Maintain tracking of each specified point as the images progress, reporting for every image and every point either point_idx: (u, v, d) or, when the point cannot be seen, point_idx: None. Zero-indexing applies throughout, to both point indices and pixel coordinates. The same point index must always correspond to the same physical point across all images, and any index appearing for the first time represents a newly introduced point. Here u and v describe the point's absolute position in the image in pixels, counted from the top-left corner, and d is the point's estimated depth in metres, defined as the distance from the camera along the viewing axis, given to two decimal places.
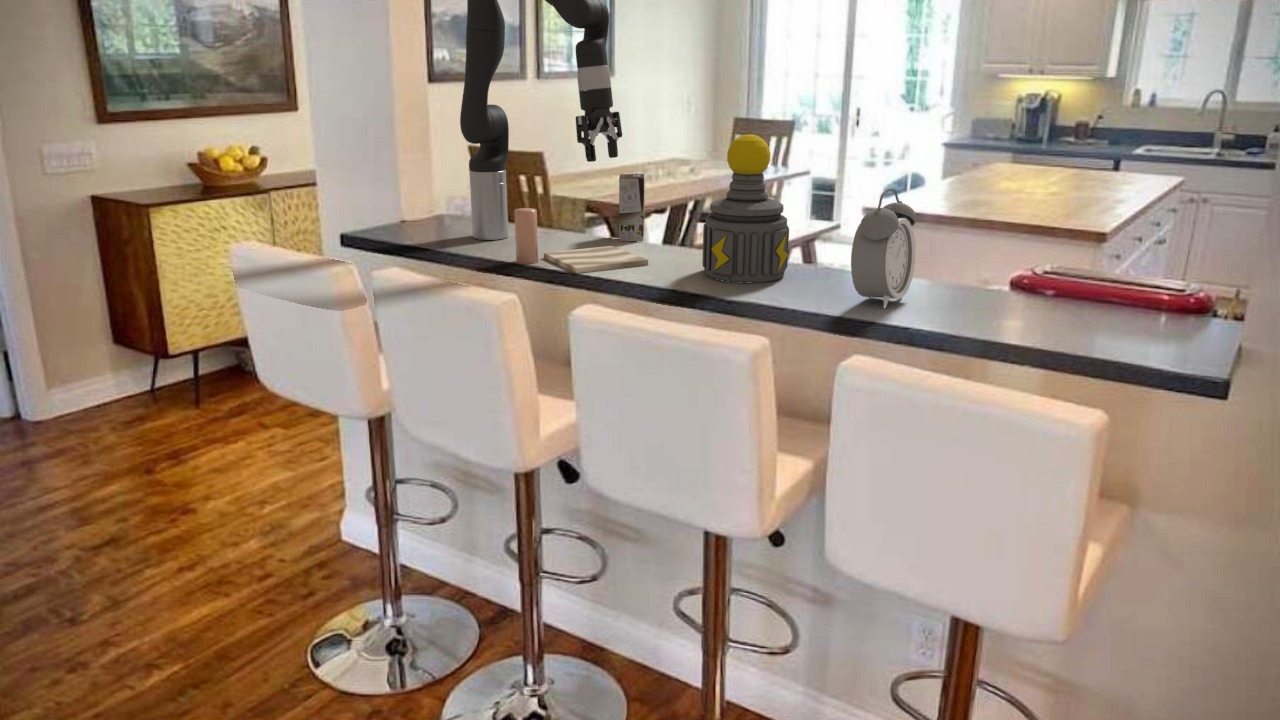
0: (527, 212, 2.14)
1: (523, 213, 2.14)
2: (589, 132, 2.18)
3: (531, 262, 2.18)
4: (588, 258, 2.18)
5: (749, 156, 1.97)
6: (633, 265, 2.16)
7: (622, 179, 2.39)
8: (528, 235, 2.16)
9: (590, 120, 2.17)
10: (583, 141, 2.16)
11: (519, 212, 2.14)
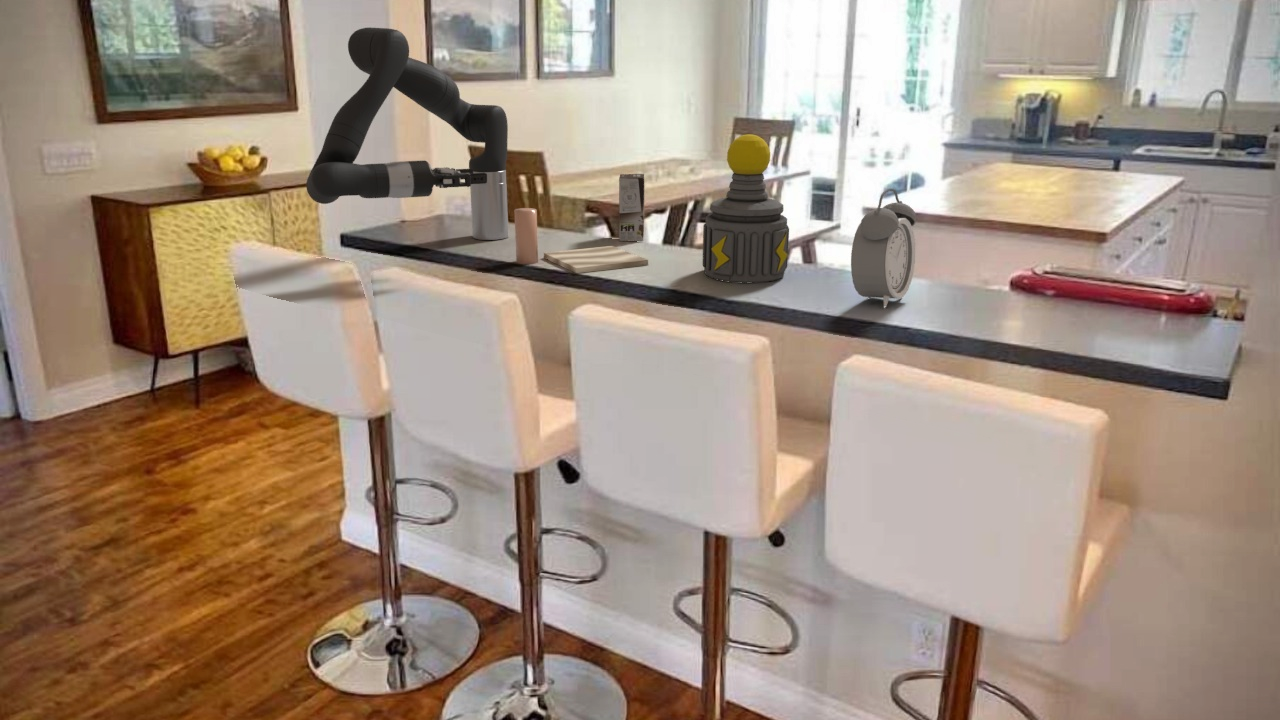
0: (527, 212, 2.14)
1: (523, 213, 2.14)
2: None
3: (531, 262, 2.18)
4: (588, 258, 2.18)
5: (749, 156, 1.97)
6: (633, 265, 2.16)
7: (622, 179, 2.39)
8: (528, 235, 2.16)
9: None
10: None
11: (519, 212, 2.14)
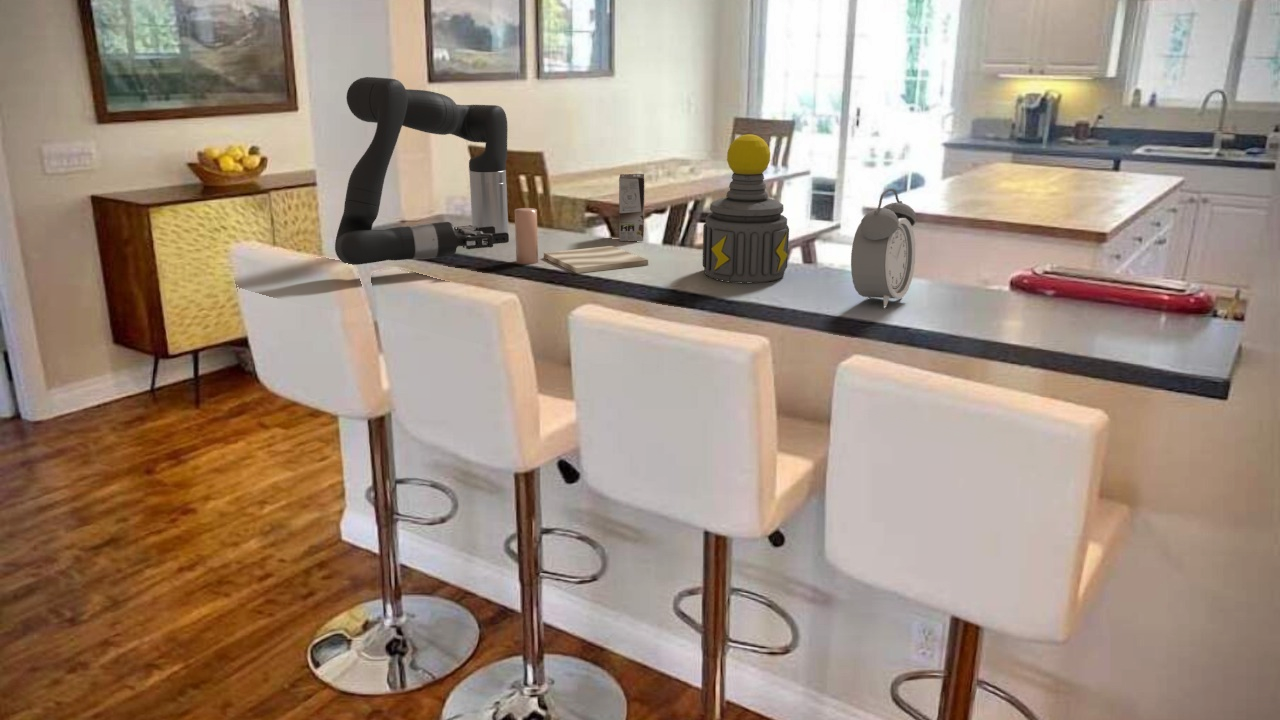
0: (527, 212, 2.14)
1: (523, 213, 2.14)
2: None
3: (531, 262, 2.18)
4: (588, 258, 2.18)
5: (749, 156, 1.97)
6: (633, 265, 2.16)
7: (622, 179, 2.39)
8: (528, 235, 2.16)
9: None
10: None
11: (519, 212, 2.14)
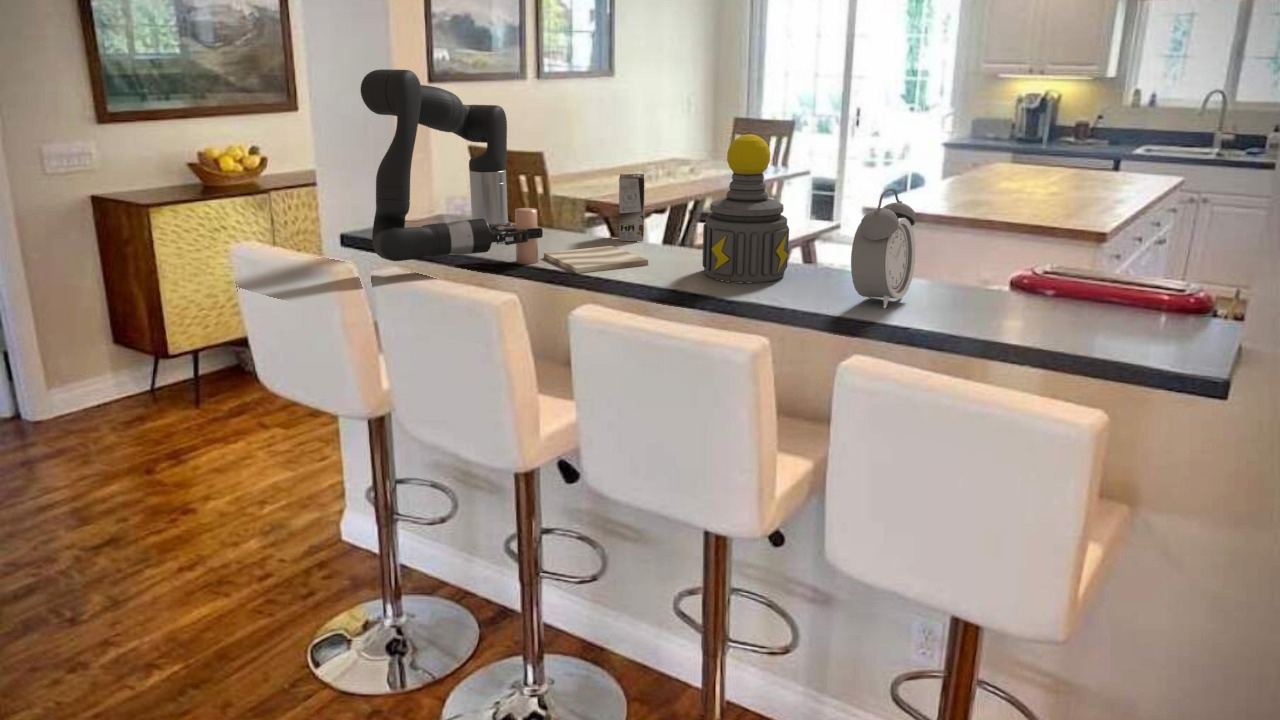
0: (527, 212, 2.14)
1: (523, 213, 2.14)
2: None
3: (531, 262, 2.18)
4: (588, 258, 2.18)
5: (749, 156, 1.97)
6: (633, 265, 2.16)
7: (622, 179, 2.39)
8: None
9: None
10: None
11: (519, 212, 2.15)
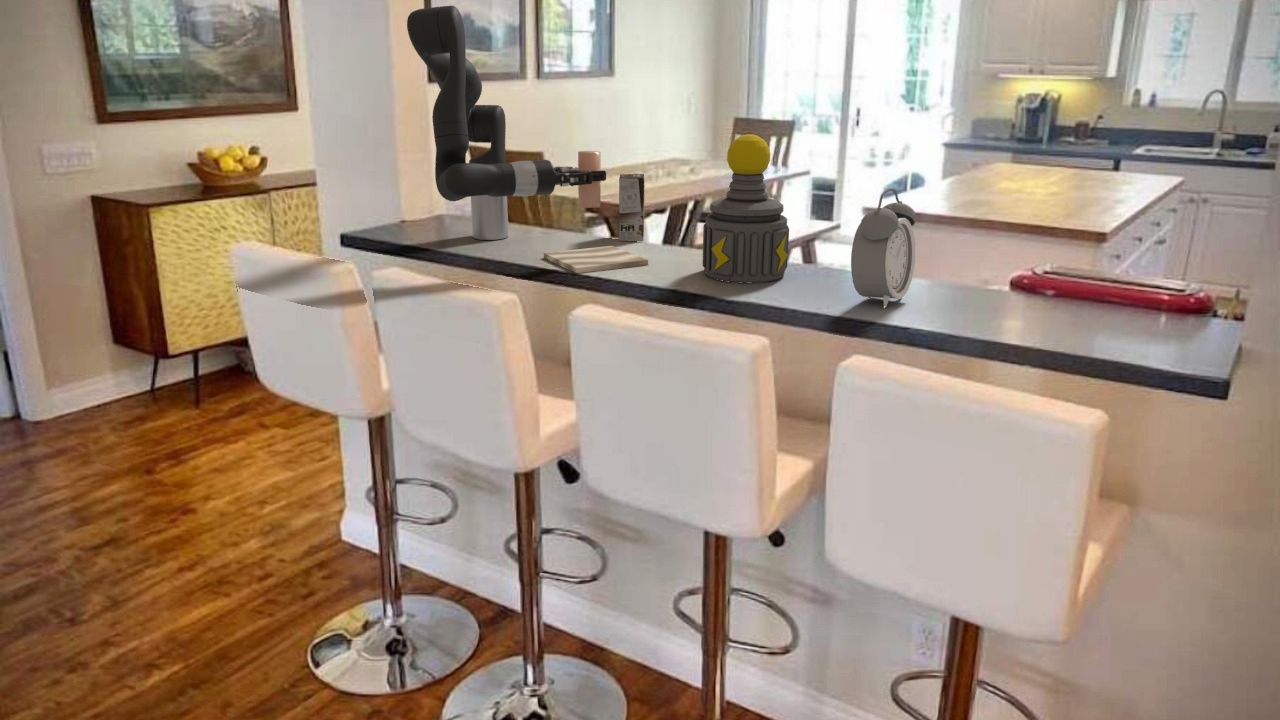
0: (591, 154, 2.11)
1: (587, 155, 2.11)
2: None
3: (594, 206, 2.14)
4: (588, 258, 2.18)
5: (749, 156, 1.97)
6: (633, 265, 2.16)
7: (622, 179, 2.39)
8: None
9: None
10: None
11: (583, 154, 2.11)
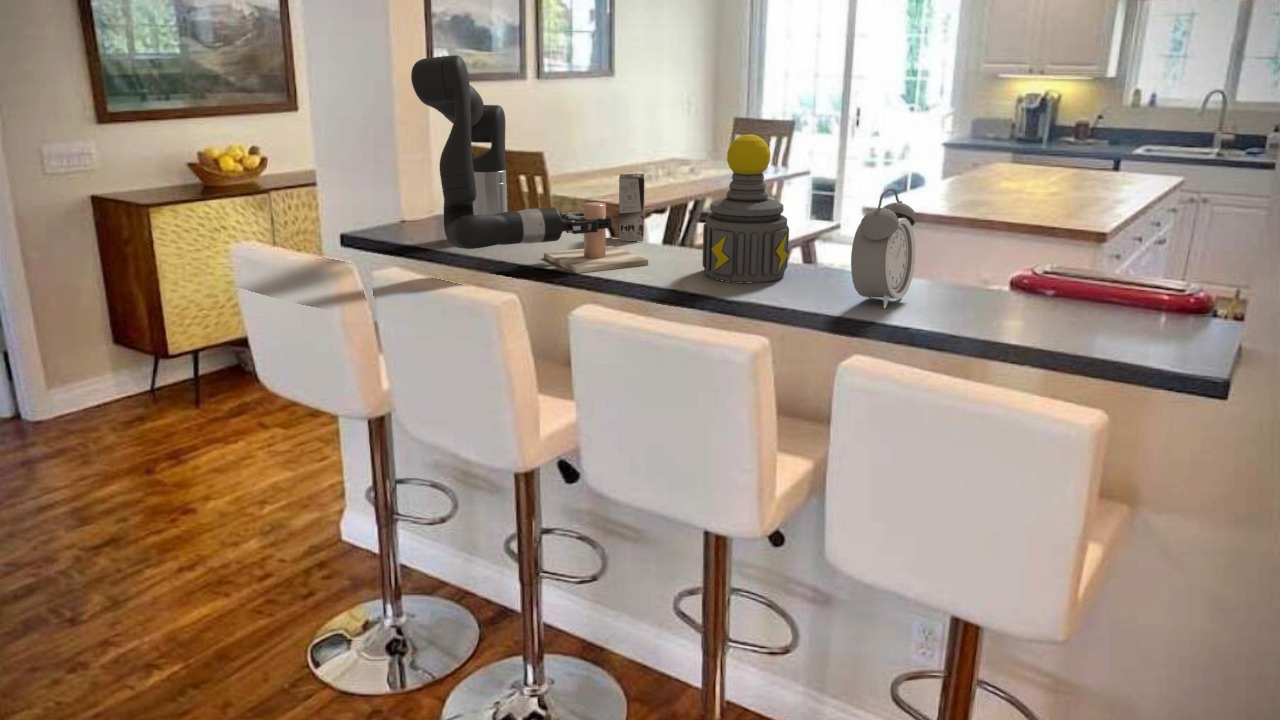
0: (597, 207, 2.14)
1: (593, 208, 2.14)
2: None
3: (599, 256, 2.18)
4: (588, 258, 2.18)
5: (749, 156, 1.97)
6: (633, 265, 2.16)
7: (622, 179, 2.39)
8: None
9: None
10: None
11: (589, 206, 2.14)
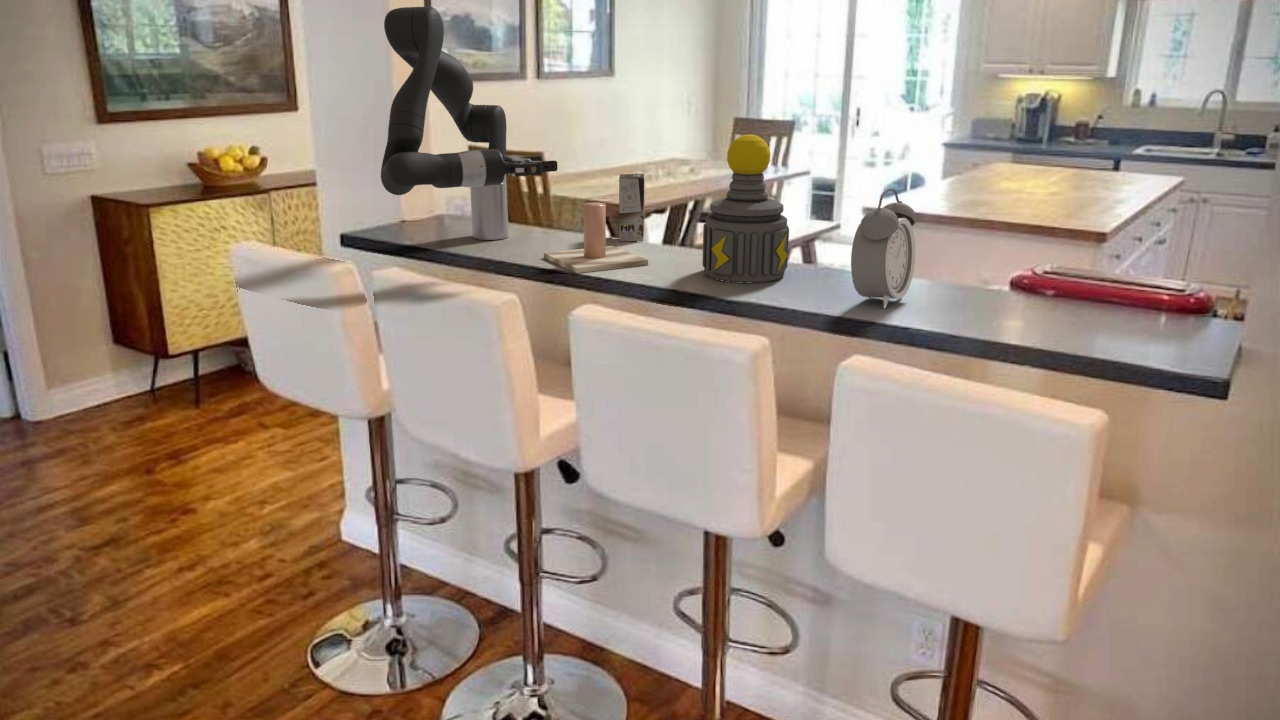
0: (597, 206, 2.14)
1: (593, 207, 2.14)
2: None
3: (599, 256, 2.18)
4: (588, 258, 2.18)
5: (749, 156, 1.97)
6: (633, 265, 2.16)
7: (622, 179, 2.39)
8: (597, 229, 2.16)
9: None
10: None
11: (589, 206, 2.15)
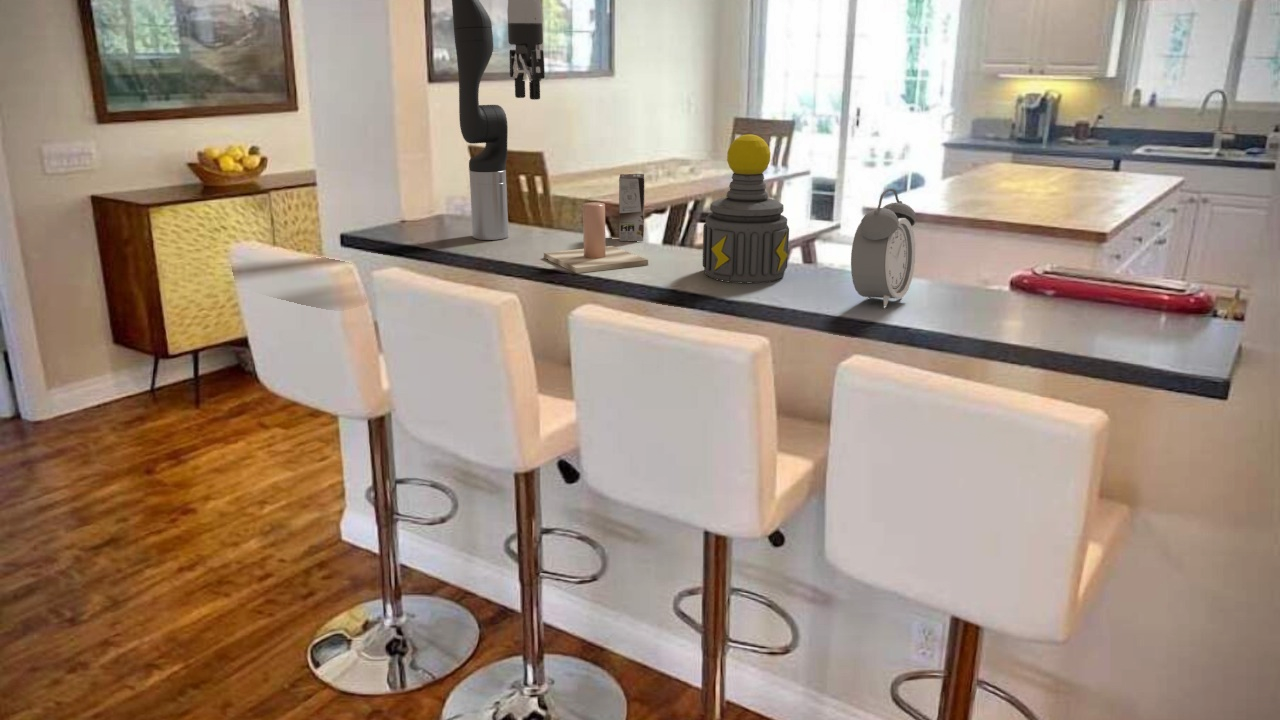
0: (596, 207, 2.14)
1: (592, 208, 2.14)
2: None
3: (599, 256, 2.18)
4: (588, 258, 2.18)
5: (749, 156, 1.97)
6: (633, 265, 2.16)
7: (622, 179, 2.39)
8: (597, 229, 2.16)
9: None
10: None
11: (588, 207, 2.14)
